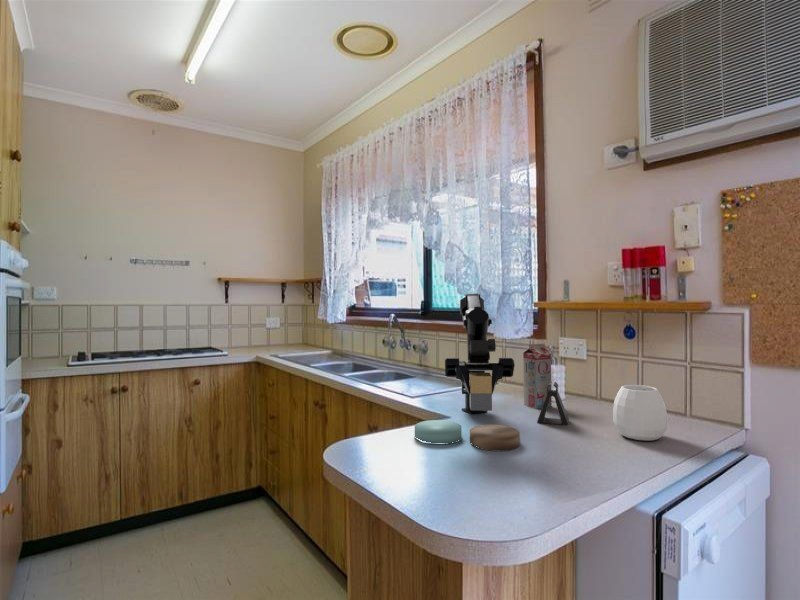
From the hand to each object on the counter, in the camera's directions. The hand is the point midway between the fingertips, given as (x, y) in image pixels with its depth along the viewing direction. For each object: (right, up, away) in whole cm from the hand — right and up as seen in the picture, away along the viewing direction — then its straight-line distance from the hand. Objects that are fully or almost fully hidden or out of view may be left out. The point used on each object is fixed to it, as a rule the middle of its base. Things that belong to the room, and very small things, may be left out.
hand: (480, 393), depth 119 cm
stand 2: (+4, -13, +1) cm, 14 cm away
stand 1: (-11, -13, +6) cm, 18 cm away
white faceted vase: (+44, -13, +4) cm, 46 cm away
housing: (0, -4, +1) cm, 4 cm away
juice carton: (+27, -13, +40) cm, 50 cm away
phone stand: (+26, -13, +20) cm, 35 cm away
